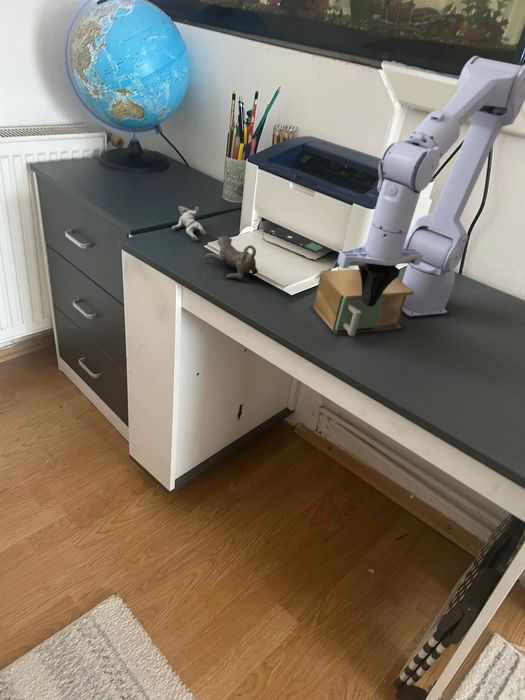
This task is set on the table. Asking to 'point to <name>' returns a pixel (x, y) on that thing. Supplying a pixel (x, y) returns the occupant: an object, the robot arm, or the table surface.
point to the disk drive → (294, 239)
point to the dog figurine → (235, 258)
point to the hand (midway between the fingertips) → (367, 303)
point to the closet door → (357, 315)
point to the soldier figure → (189, 222)
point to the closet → (350, 287)
